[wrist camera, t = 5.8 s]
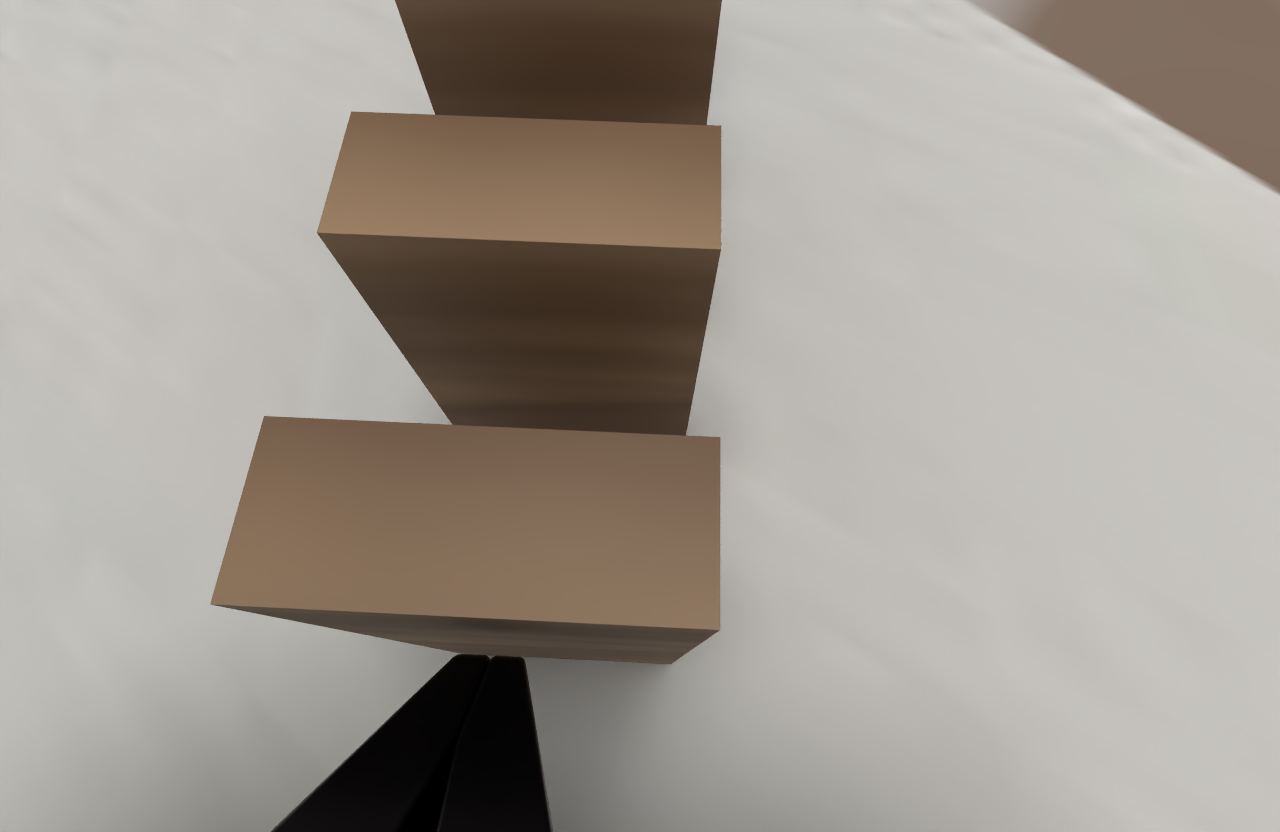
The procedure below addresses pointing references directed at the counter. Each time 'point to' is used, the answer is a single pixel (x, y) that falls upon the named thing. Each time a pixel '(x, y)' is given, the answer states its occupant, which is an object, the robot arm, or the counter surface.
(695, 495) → the domino
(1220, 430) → the counter surface
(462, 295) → the domino
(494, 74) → the domino
